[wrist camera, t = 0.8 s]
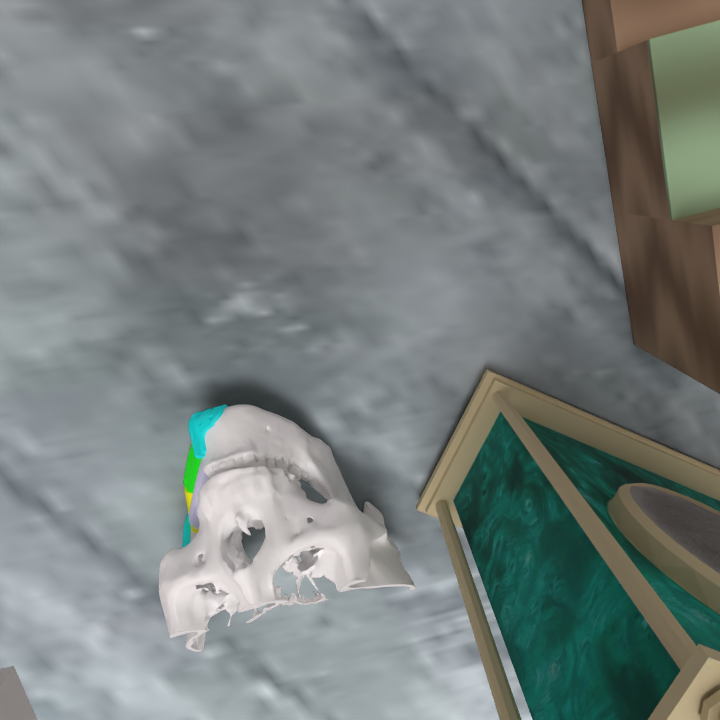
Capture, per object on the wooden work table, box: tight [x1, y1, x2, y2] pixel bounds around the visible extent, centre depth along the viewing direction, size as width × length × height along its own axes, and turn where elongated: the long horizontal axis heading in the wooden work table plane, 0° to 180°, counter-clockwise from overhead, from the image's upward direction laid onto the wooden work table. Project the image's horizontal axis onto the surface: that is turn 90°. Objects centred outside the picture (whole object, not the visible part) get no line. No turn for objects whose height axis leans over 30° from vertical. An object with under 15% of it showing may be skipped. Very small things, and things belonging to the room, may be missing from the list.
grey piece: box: [159, 404, 417, 652], centre depth 34 cm, size 12×9×10 cm
